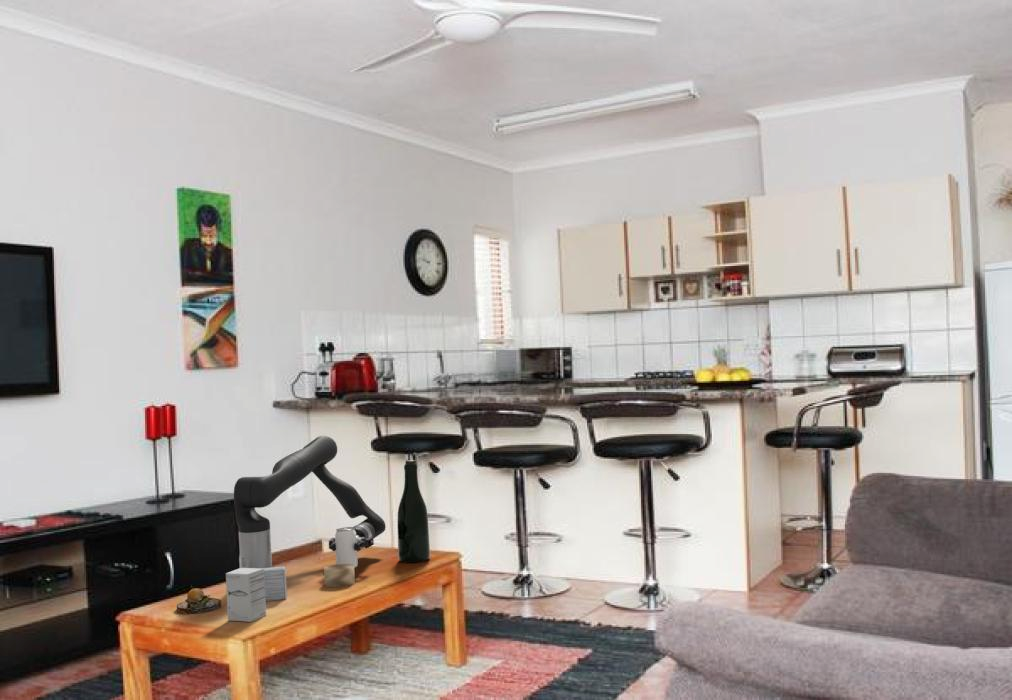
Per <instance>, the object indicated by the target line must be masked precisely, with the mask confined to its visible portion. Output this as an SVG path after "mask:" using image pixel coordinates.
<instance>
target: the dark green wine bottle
mask: <svg viewBox="0 0 1012 700" xmlns="http://www.w3.org/2000/svg"><path fill="white" fill-rule="evenodd" d="M403 469H404V485H403V486H404V487H403V492H402V495H401V498H400V500H399V503H398V508H397V555H398V558H397V559H398V560H399V561H400V562H403V563H421V562H425V561H427V560H429V559H430V558H431V548H430V547H431V546H430V527H429V516H428V509H427V505H426V502H425V500H424V498H423V496H422V493H421V489H420V485H419V479H418V476H419V475H418V464H417V463H416V460H415V459H414V460H413V459H409V460H408V459H407V460H405V464H404V466H403Z"/></svg>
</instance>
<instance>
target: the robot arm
mask: <svg viewBox="0 0 1012 700" xmlns="http://www.w3.org/2000/svg"><path fill="white" fill-rule="evenodd" d="M337 453H338V446H337V443H336V441H335V440H334V439H333V438H332V437H330V436H327V435H319V436H318V437H315V438H314V439H313V440H312V441H310V442H309V443H308V444H306V445H304V447H302V449H301V448H300V449H299V450H296V451H294V452H293V453H290V454H287V455H286V456H284V457H283V458H281V459H279V460H278V461H276V463H275V464H274V466H273V467H272V470H271V471H272V472H271V474H269V475H266V476H243V477H239V478H238V479H237V481H235V484H234V487H233V488H234V489H233V502H234V503H233V504H234V511H235V512H234V513H235V521H236V524H237V526H238V543H239V546H238V547H239V555H238V558H239V559H238V562H239V568H260V569H261V568H271V567H273V560H272V559H273V557H272V555H273V554H272V541H271V538H272V537H271V523H270V522H271V521H270V520H269V518H267V517H265V516H262V515H260V514H259V513H258V512H257V511H256V508H259V509H260V508H265V507H268V506H270V505H271V504H272V503H273V502H274V501H275V500H277V498H278V497H279V496H280V495H281V494H283V493H284V492H285V491H287V490H288V489H290V488H292V487H294V486H295V485H296V484H298V483H299V482H301V481H303V480H304V479H305V478H306V477H308V476H309V475H310V474H311V473H313V475H315V477H316V478H317V479H318V480H319V481H320V482H321V483H322V484H323V485H324V486H325V487H326V488H327V489H328V490H329V491H330V492H331V494H332V495H333V496H334V498H336V500H337V501H338V503H339V504H340V506H341V507H342V508H343V510H344V512H346V514H347V516H348V517H349V518H350V519H355V518H358V517H360V516H363V517H365V518H366V519H364V520H363V521H361V522H360V523H358V524H357V525H354V526H352V527H353V528H354V530H355V532H356V540H357V542H356V543H354V550H357V552H360V551H362V550H363V549H369V548H370V547H372V546H373V545H375V543H374V540H375V538H377V537H378V536H380V535H382V534H383V533H384V532H385V531H386V528H387V526H386V522H385V520H384V519H383V518H382V517H381V516H380V515H379V514H378V513H376V512H375V511H374V510H373V509H372V508H370V506H368V504H367V503H366V502H365V501H364V500H363V498H362V496H361V495H360V493H359V492H358V491H357V489H356V488H355V487H354V486H353V485H351V484H350V483H348V482H346V481H344V480H342V479H341V478H338V477H337V476H335V475H334V474H332V473H331V472H330V471H329V469H328V468H327V466H326V465H327V464H328V463H330V462H331V461H333V460H334V459H335V458H336V456H337ZM328 549H329V550H331V551H332V552H336V543H335V537H331V538H330V539H329V540H328Z"/></svg>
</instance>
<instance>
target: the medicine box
mask: <svg viewBox="0 0 1012 700" xmlns="http://www.w3.org/2000/svg"><path fill="white" fill-rule="evenodd" d="M261 569H264V578H265V601H266V602H269V601H278V600H279V601H280V600H282V601H283V600H287V596H288V594H287V593H288V592H287V591H288V590H287V576H286V575H287V574H286V566H283V565H282V566H274V567H273V566H272V567H271V568H261Z"/></svg>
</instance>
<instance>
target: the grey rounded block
mask: <svg viewBox="0 0 1012 700" xmlns="http://www.w3.org/2000/svg"><path fill="white" fill-rule="evenodd" d="M355 576H356V574H355V568H354V565H350V564H339V565H337V564H332V565H328V566H325V567H324V568H323V578H324V586H325V587H326V586H327V587H326V588H344V587H349V586H352V585H354V584H355V583H356V579H355V578H356V577H355Z"/></svg>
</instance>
